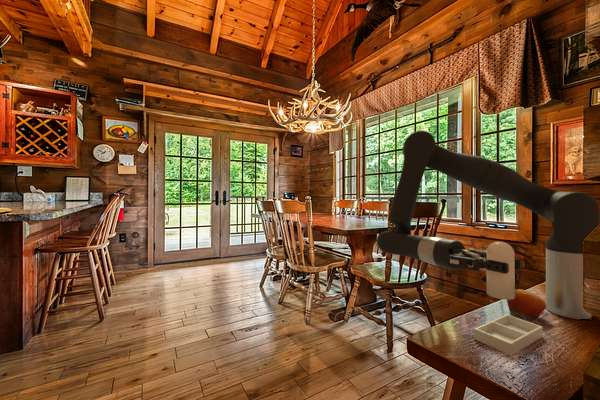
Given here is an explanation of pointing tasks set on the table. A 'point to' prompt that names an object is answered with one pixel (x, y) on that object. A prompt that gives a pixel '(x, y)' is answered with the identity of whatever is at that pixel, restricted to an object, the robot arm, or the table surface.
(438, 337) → the table surface
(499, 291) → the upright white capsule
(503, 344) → the tray
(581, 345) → the table surface
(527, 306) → the fruit
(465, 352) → the table surface
